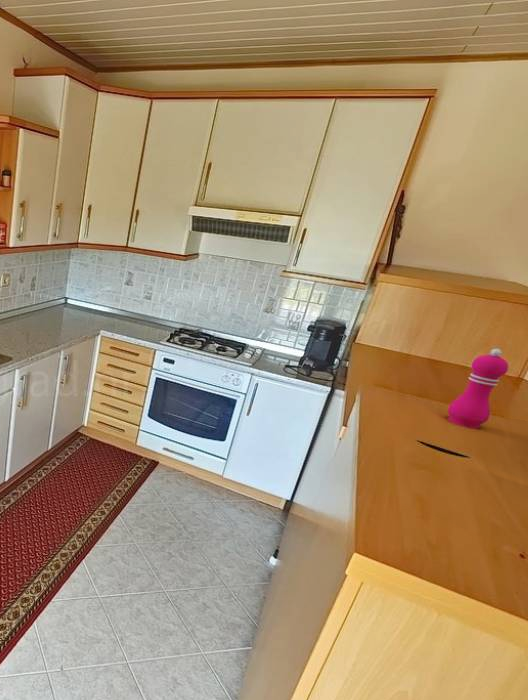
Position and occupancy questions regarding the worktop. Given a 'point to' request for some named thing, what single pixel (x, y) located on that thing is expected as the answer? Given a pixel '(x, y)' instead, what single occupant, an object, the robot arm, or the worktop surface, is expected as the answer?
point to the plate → (443, 450)
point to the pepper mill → (478, 391)
